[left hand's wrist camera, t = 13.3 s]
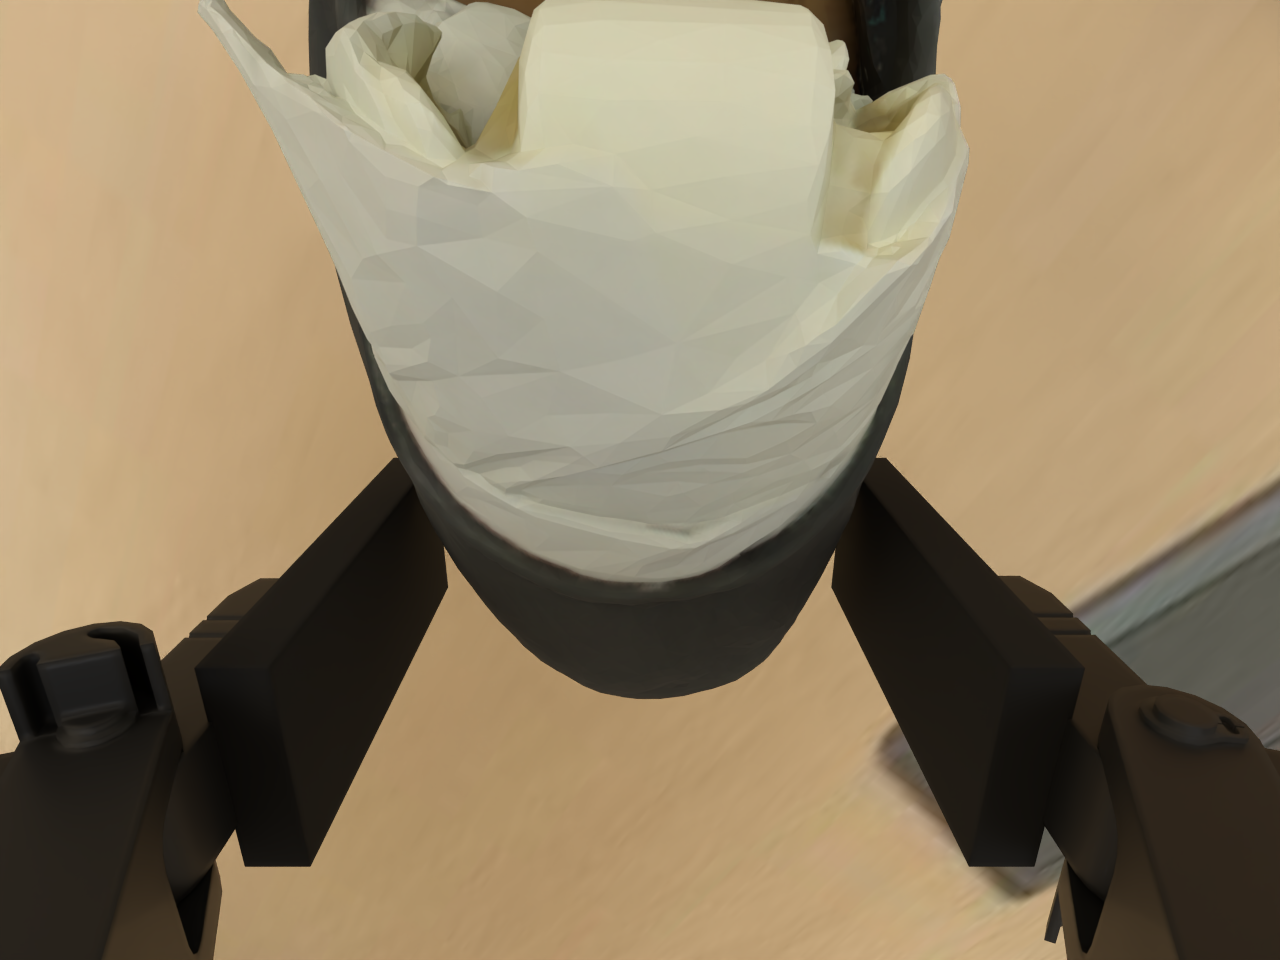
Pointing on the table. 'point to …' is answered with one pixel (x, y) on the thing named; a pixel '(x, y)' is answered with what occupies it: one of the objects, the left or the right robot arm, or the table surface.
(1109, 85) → the table surface
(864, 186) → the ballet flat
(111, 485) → the table surface
